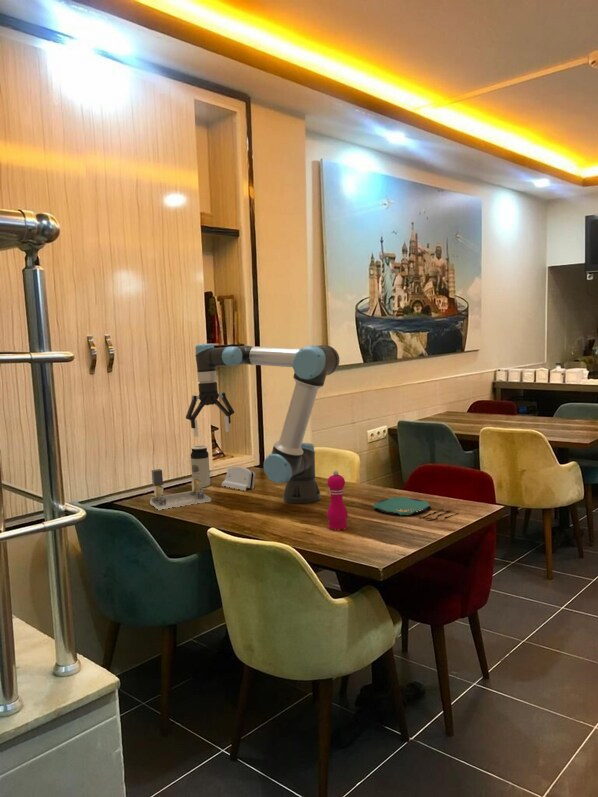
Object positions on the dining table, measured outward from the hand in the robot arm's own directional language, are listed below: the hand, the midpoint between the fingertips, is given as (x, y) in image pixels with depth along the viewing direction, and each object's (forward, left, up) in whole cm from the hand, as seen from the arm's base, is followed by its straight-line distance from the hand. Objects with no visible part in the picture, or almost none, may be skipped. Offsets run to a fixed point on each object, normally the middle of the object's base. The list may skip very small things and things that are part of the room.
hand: (212, 434), depth 261 cm
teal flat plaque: (-60, -55, -28) cm, 86 cm away
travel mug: (+28, -4, -28) cm, 40 cm away
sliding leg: (+6, +21, -24) cm, 33 cm away
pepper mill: (-61, -22, -28) cm, 70 cm away
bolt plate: (+5, +13, -28) cm, 31 cm away
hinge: (+16, -17, -28) cm, 37 cm away
